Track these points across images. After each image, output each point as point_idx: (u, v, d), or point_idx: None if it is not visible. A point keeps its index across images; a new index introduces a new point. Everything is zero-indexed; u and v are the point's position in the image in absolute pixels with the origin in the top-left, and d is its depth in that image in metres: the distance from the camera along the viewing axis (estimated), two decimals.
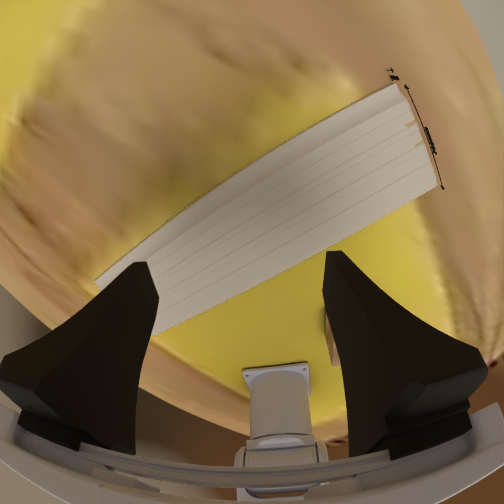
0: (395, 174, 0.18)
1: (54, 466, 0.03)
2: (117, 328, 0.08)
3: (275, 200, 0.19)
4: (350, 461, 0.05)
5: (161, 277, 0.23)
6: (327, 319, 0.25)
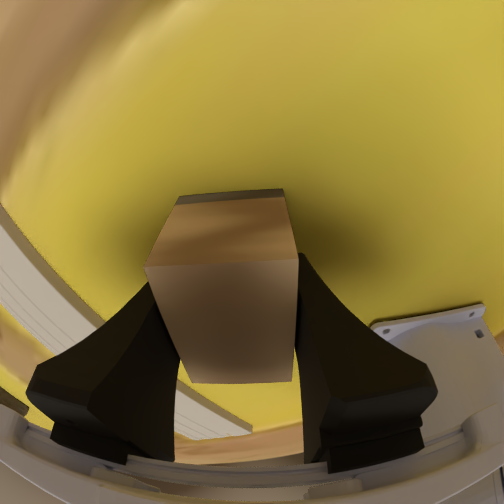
0: None
1: (54, 466, 0.03)
2: (159, 330, 0.08)
3: (56, 343, 0.16)
4: None
5: None
6: None
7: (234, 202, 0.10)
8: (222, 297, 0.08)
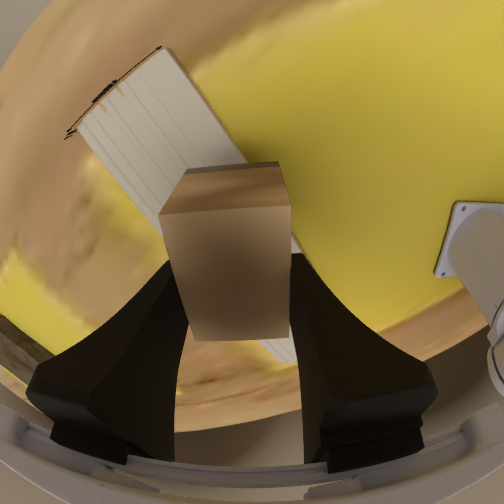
0: (157, 110, 0.15)
1: (54, 466, 0.03)
2: (158, 330, 0.08)
3: None
4: None
5: None
6: None
7: (235, 170, 0.11)
8: (226, 243, 0.09)
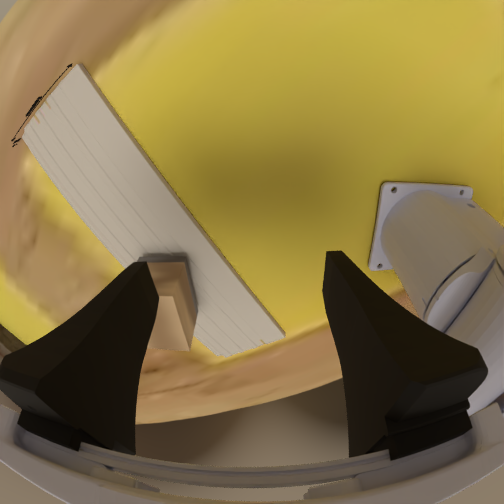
0: (74, 119, 0.16)
1: (54, 466, 0.03)
2: (117, 328, 0.08)
3: (114, 223, 0.21)
4: (350, 461, 0.05)
5: (201, 314, 0.26)
6: None
7: (161, 263, 0.21)
8: None
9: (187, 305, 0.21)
